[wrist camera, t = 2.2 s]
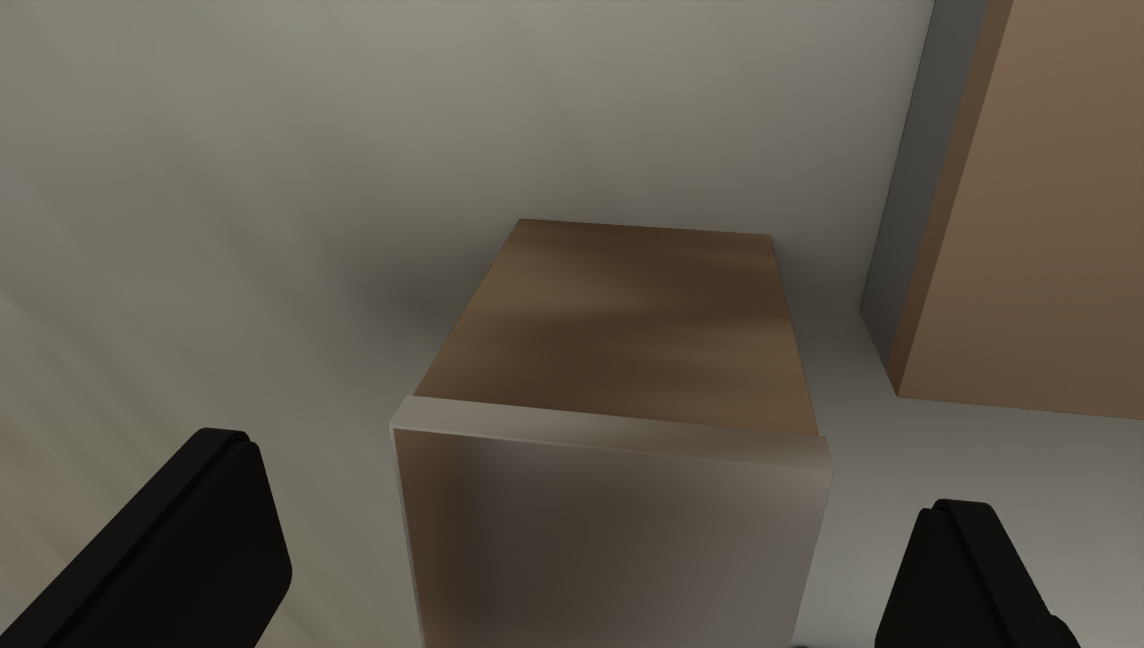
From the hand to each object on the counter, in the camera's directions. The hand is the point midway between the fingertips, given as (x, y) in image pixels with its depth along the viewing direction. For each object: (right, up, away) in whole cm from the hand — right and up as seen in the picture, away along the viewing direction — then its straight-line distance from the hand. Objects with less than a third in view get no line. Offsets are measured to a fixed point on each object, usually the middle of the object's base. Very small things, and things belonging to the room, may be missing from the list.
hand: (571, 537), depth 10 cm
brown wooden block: (+1, +3, +5) cm, 6 cm away
